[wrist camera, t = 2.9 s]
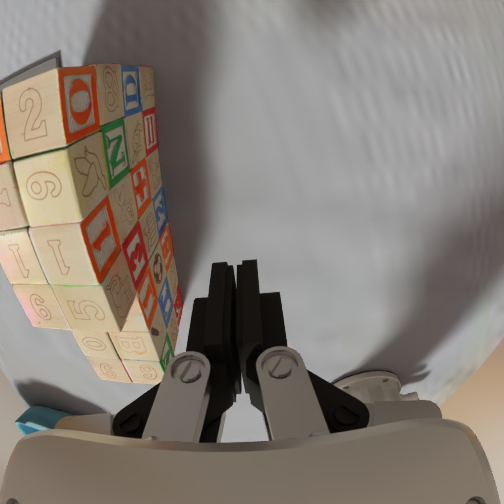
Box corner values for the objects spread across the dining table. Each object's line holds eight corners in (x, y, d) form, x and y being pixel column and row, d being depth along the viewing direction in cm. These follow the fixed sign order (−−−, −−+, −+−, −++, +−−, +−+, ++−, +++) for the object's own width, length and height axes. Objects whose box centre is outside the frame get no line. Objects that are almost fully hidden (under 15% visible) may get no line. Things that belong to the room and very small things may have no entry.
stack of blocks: (185, 306, 29) (164, 421, 19) (126, 305, 29) (87, 410, 19) (153, 64, 18) (55, 64, 7) (76, 81, 18) (-44, 110, 7)
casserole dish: (9, 383, 41) (-4, 411, 35) (104, 409, 42) (94, 445, 36) (76, 455, 61) (71, 476, 55) (150, 472, 62) (147, 495, 56)
